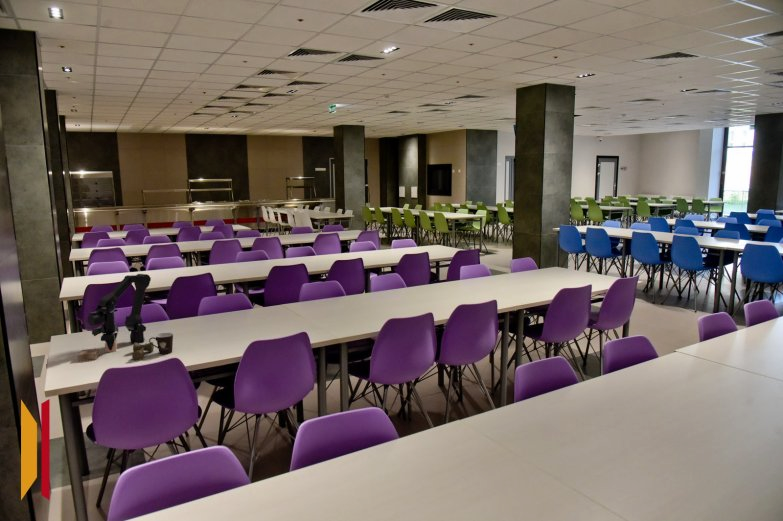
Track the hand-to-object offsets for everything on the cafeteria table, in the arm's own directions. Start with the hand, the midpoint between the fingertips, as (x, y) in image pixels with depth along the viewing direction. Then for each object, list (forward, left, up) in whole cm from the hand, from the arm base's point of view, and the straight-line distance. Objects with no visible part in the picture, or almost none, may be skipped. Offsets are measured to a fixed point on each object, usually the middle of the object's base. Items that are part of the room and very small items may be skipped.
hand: (111, 348), depth 287 cm
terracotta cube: (0, 0, -1) cm, 1 cm away
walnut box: (+9, +10, -1) cm, 14 cm away
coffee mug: (-27, +14, -1) cm, 30 cm away
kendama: (-17, +14, -2) cm, 21 cm away
